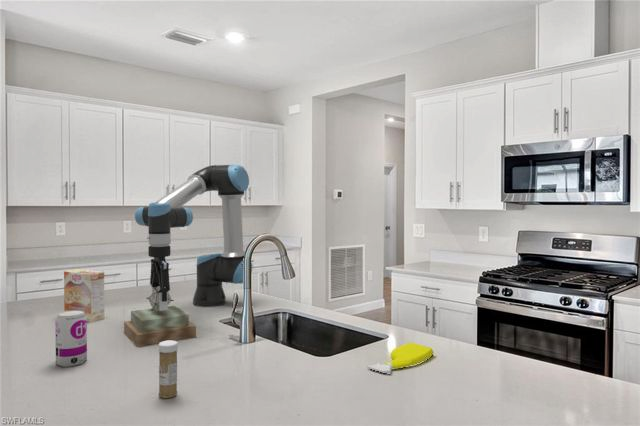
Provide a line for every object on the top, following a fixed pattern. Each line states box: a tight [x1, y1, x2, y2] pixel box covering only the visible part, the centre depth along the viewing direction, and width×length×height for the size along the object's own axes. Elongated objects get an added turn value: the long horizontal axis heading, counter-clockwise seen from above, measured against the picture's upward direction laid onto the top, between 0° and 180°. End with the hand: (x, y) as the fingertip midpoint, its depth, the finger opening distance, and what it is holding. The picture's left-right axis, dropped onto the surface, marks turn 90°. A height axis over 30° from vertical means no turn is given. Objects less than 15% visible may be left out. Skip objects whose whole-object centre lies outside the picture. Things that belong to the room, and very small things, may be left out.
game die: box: [145, 288, 175, 311], centre depth 167 cm, size 9×8×10 cm
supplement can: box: [54, 310, 88, 368], centre depth 138 cm, size 8×8×15 cm
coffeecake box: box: [63, 268, 105, 323], centre depth 188 cm, size 15×7×20 cm, turn 68°
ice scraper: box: [366, 342, 435, 374], centre depth 141 cm, size 3×11×24 cm
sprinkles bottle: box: [158, 340, 179, 399], centre depth 116 cm, size 5×5×13 cm
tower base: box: [123, 305, 197, 348], centre depth 167 cm, size 20×20×8 cm
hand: (159, 307), depth 167 cm, fingers closed on game die, 9 cm apart
